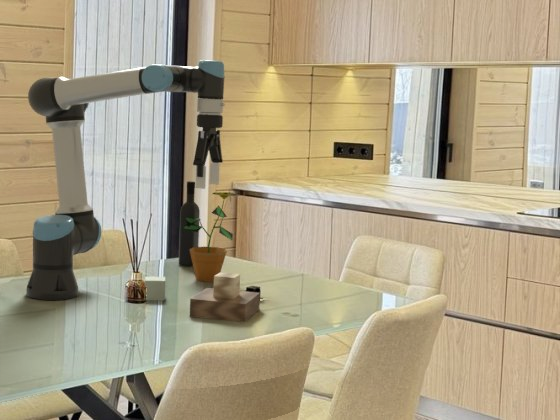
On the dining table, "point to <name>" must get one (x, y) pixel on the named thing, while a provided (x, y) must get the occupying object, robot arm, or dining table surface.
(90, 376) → the dining table surface
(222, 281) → the maple cube
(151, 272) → the dining table surface
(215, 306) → the walnut block
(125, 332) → the dining table surface
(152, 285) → the sage cube
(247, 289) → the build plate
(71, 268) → the robot arm
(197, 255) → the potted plant
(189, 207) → the wine bottle
